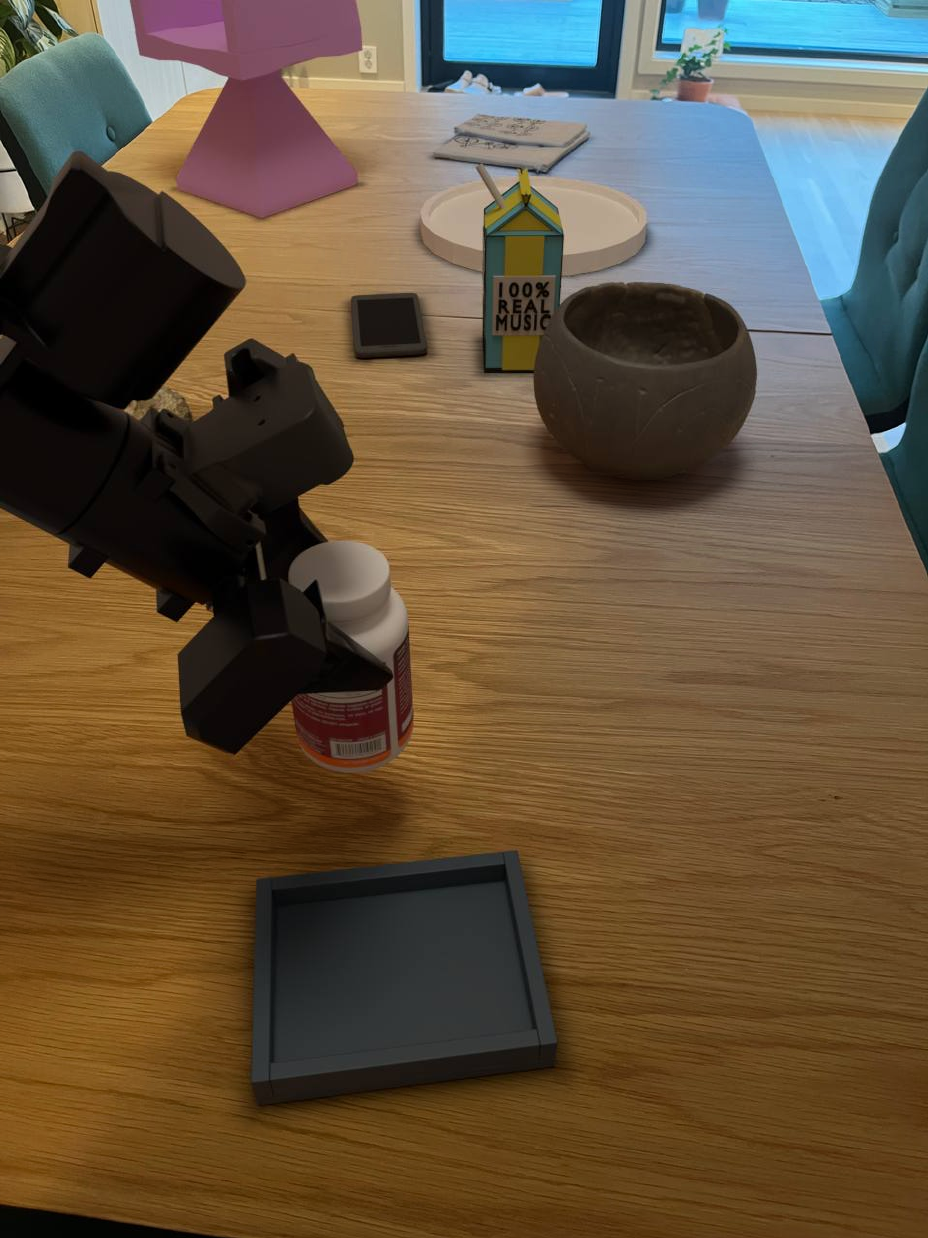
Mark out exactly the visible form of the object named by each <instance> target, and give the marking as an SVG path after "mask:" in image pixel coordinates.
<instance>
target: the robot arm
mask: <svg viewBox="0 0 928 1238" xmlns="http://www.w3.org/2000/svg"><path fill="white" fill-rule="evenodd" d="M246 284H247V279H246V276H245V274H244V272H243V269H242V268H241V266H240V265H239V263H238V262H237V260H236V259H235V258H234V257H233V254H232V253H231V252H230V251H229V250H228V249H227V247H225V245H224V244H223V243H222V242H221V241H220V240H219V239H218V238H217V237H216V236H215V235H214V233H213V232H212V231H211V230H210V229H209V228H208V227H206V225H205V224H203V223H202V222H201V221H200V220H199V219H198V217H196V216H195V215H194V214H192V212H190V211H189V210H188V209H186V208H185V207H184V206H183V205H182V204H181V203H179V202H178V201H177V200H175V199H174V198H173V197H172V196H171V195H169V194H168V193H167V192H166V191H163V190H161V191H160V192H159V193H157V192H156V191H154V190H153V189H151V188H150V187H148V186H147V185H145V184H144V183H142V182H140V181H139V180H136V179H135V178H132V177H131V176H128V175H126V174H123V173H121V172H118V171H111V170H109V171H108V170H107V169H105V168H104V167H103V166H102V165H101V164H100V163H98V162H97V161H96V160H94V159H93V158H91V156H89V155H87V154H86V153H85V152H84V151H81V150H80V151H79V150H77V151H73V152H72V153H70V155H69V156H68V158H67V159H66V161H65V162H64V163H63V165H62V167H60V169H59V171H58V172H57V173H56V175H55V177H54V178H53V181H52V184H51V186H50V189H49V191H48V195H47V197H46V200H45V201H44V203H43V204H42V206H41V207H40V209H39V210H38V211H37V213H36V214H35V216H34V217H33V218H32V220H31V221H30V223H29V224H28V226H27V227H26V228H25V230H24V231H23V232H22V234H21V235H20V236H19V238H18V239H17V241H16V242H15V243H14V245H13V247H12V246H10V245H8V244H4V243H0V509H1V510H3V511H5V512H7V513H9V514H11V515H12V516H14V517H17V518H18V519H20V520H22V521H24V522H26V523H28V524H30V525H32V526H34V527H35V528H37V529H39V530H42V531H43V532H45V533H47V534H49V535H51V536H54V537H55V538H56V539H59V540H61V541H62V542H64V543H66V544H68V559H67V569H70V570H72V571H74V572H76V573H78V574H80V575H81V576H83V577H86V578H88V579H92V578H93V577H94V576H95V574H96V573H97V572H98V571H99V570H100V568H101V567H102V566H103V565H104V564H106V565H108V566H111V567H112V568H114V569H116V570H117V571H119V572H122V573H124V574H126V575H128V576H129V577H131V578H134V579H136V580H137V581H140V582H141V583H143V584H145V585H147V586H149V587H150V588H152V589H155V597H156V598H155V600H156V601H155V603H156V614H159V615H161V616H163V617H165V618H167V619H169V620H171V621H173V622H175V623H178V622H179V621H180V620H181V619H182V618H183V616H185V615H186V613H187V612H188V611H190V609H192V607H193V606H194V605H195V604H199V605H201V606H204V605H205V610H206V611H208V612H209V613H212V614H213V616H212V617H211V618H210V619H209V620H208V621H207V622H206V624H204V625H203V626H202V627H201V629H200V630H198V632H197V633H196V634H195V635H194V636H193V637H192V638H191V639H190V640H189V641H188V642H187V644H186V645H184V647H183V648H182V649H180V651H179V652H177V670H178V688H179V689H178V690H179V710H180V716H181V720H182V724H183V728H184V732H185V736H186V737H187V738H189V739H192V740H195V741H196V742H199V743H201V744H204V745H206V746H208V747H211V748H213V749H215V750H217V751H220V752H222V753H225V754H229V755H234V756H235V755H237V754H239V752H240V751H241V750H242V749H243V748H245V746H246V745H247V744H248V743H250V742H251V740H252V739H254V738H255V736H256V735H258V733H260V732H261V731H262V730H263V729H264V728H265V727H266V726H267V725H268V724H269V723H270V722H271V721H272V720H273V719H274V718H276V716H278V714H279V713H281V712H282V710H283V709H285V708H286V706H287V705H288V704H289V703H290V702H291V700H292V699H293V698H294V697H296V696H297V695H298V694H313V693H335V692H358V691H378V690H381V689H382V688H384V687H385V686H386V685H387V684H388V683H389V682H390V681H391V680H392V679H393V673H392V670H391V669H390V668H388V667H387V666H386V665H385V664H384V663H383V662H382V661H380V660H379V659H378V658H377V657H376V656H374V655H373V654H372V653H371V652H369V651H368V650H367V649H365V648H364V647H362V646H361V645H360V644H358V643H357V642H356V641H354V640H353V639H352V638H350V637H349V636H348V635H346V634H345V633H344V632H342V631H341V630H340V629H338V628H337V627H336V626H334V625H333V624H332V623H330V622H329V621H328V620H327V617H326V612H325V608H324V604H323V599H322V595H321V590H320V586H319V582H318V581H317V580H316V579H315V580H314V581H313V582H312V583H311V584H310V585H309V586H308V587H307V588H306V589H305V590H304V591H303V592H302V591H301V590H300V589H298V588H296V587H294V586H293V585H291V584H289V578H288V573H289V569H290V566H291V564H292V562H293V561H294V560H295V558H296V557H297V556H298V555H300V554H301V553H302V552H304V551H305V550H307V549H309V548H311V547H313V546H316V545H318V544H322V543H326V542H330V541H329V539H327V537H326V536H325V535H324V534H323V533H322V532H321V530H319V528H318V527H317V526H316V524H315V523H314V522H313V521H312V520H311V519H310V518H309V516H308V515H307V514H306V513H305V511H304V510H303V509H302V507H300V499H299V497H300V496H302V495H304V494H306V493H308V492H309V491H311V490H313V489H315V488H317V487H319V486H329V485H332V484H333V483H335V482H337V481H339V480H340V479H342V478H343V477H344V476H345V475H346V474H347V473H348V472H349V471H350V470H351V468H352V467H353V465H354V462H355V456H354V453H353V450H352V448H351V446H350V443H349V441H348V437H347V434H346V431H345V424H344V421H343V420H342V418H341V417H340V415H339V414H338V412H337V410H336V409H335V407H334V405H333V404H332V402H331V401H330V399H329V398H328V396H327V395H326V393H325V392H324V390H323V389H322V387H321V385H320V384H319V382H318V380H317V378H316V375H315V370H314V368H313V366H311V365H310V364H307V363H306V362H303V361H300V360H299V359H298V357H297V356H296V354H295V353H294V352H292V353H291V354H288V355H287V356H284V355H282V354H281V353H279V352H277V351H276V350H274V349H272V348H270V347H268V346H267V345H265V344H263V343H261V342H260V341H258V340H257V339H255V338H252V337H251V338H248V339H246V340H244V341H242V342H241V343H239V344H238V345H236V346H233V347H232V348H230V349H229V350H228V349H227V351H225V352H224V354H223V358H224V360H223V361H224V368H225V376H226V385H227V391H228V397H226V398H225V399H224V398H223V396H222V395H221V394H217V395H215V396H214V397H212V398H211V400H212V401H211V402H212V409H211V410H210V411H209V412H207V413H205V414H203V415H202V416H200V417H198V418H197V419H195V420H194V422H193V423H190V422H188V421H185V420H183V419H181V418H180V417H178V416H177V415H175V414H174V413H172V412H171V411H169V410H167V409H162V410H161V411H160V412H159V411H157V410H156V409H154V408H152V407H150V409H149V410H148V411H147V412H146V413H145V415H144V416H143V417H142V418H141V419H140V420H138V419H136V418H135V417H133V416H132V415H130V414H129V413H127V412H125V411H124V410H125V409H126V408H127V406H128V405H129V404H130V403H131V402H132V400H135V401H147V400H149V399H151V398H153V397H154V396H155V395H156V393H157V392H158V391H159V390H160V389H161V387H162V386H163V387H164V385H165V384H166V383H167V382H168V380H169V379H170V378H171V377H172V376H173V374H174V373H175V372H176V371H177V369H179V367H180V366H181V365H182V363H183V362H184V361H185V360H186V359H187V357H188V356H189V355H190V354H191V352H193V350H194V349H195V348H196V347H197V345H198V344H199V343H200V342H201V340H202V339H203V338H204V337H205V336H206V334H207V333H208V332H209V331H210V330H211V329H212V327H213V326H214V325H215V324H216V323H217V321H218V320H219V319H220V318H221V317H222V316H223V314H224V313H225V311H227V309H228V308H229V307H230V306H231V304H232V303H233V302H234V301H235V299H236V298H238V296H239V295H240V294H241V292H242V291H243V290H244V289H245V287H246Z"/></svg>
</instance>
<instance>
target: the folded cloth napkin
mask: <svg viewBox="0 0 928 1238" xmlns="http://www.w3.org/2000/svg"><path fill="white" fill-rule="evenodd" d="M587 127H588V126H587V123H578V122H569V121H561V120H546V119H545V120H544V119H534V118H525V117H517V116H515V117H512V116H496V115H487V114H483V113H482V114H480V113H479V114H476V115H475V116H473V117H472V118H469V119H468V120H466V121H464V122H462V123H460V124H458V125H456V126H454V127H453V134H454V136H452V137H451V138H449V141H448V142H447V143H446V144H444V145H443V146H442V147H439V148H437V149H435V150H434V151H433V156H434V158H445V159H446V158H447V159H451V160H455V161H462V162H471V163H477V164H481V163H482V164H487V165H496V166H503V167H513V168H518V169H521V170H522V171H523V170H525V169H526V168H527V171H529V170H535V171H536V173H539V172H543V173H547V172H548V170H549V169H550V168H551V167H552V166H553V165H554V164H555V163H556V162H557V161H559V160H561V158H563V157H564V156H565V155H566V154H569V152H571V151H573V150H574V149H576V147H577V146H579V145H580V144H581V143H582V142H584V141H586V140H588V138H589V136H590V135H591V131H588V130H586V129H587Z"/></svg>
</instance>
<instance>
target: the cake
mask: <svg viewBox="0 0 928 1238" xmlns="http://www.w3.org/2000/svg"><path fill="white" fill-rule="evenodd" d="M150 407H152V408H154V409H156V410H157V411H159V412H160V411H161V410H162V409H167V410H169V411H171V412H172V413H174V414H175V415H177V416H178V417H180V418H181V419H183V420H185V421H188V422H190V423H193V422H194V421H195V420H194V418H193V417H194V415H193V413H192V412H191V410H190V406H189V403H187V401H186V398H185V397H184V396H183V395H182V394H180V393H179V392H178V391H175V390H174V391H173V390H172V388H171V387H166V386H164V385H163V386H162V387H161V389H160V390H159V391H158V392H157V393H156V395H155V396H154V397H153V398H151V399H149V400H147V401H135V400H132V402H131V403H130V404H129V405H128V406H127V408H126V409H125V410H124V411H125V412H127V413H129V414H130V415H132V416H133V417H135V418H136V419H138V420H140V419H141V418H142V417H143V416H144V415H145V413H146V412H147V411H148V410H149V409H150Z"/></svg>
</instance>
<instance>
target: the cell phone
mask: <svg viewBox="0 0 928 1238" xmlns="http://www.w3.org/2000/svg"><path fill="white" fill-rule="evenodd" d="M350 310H351V311H350V312H351V325H352V339H353V340H352V341H353V350H354V351H353V352H354V356H355V357H357V358H360V359H361V358H363V359H365V358H366V359H367V358H383V357H387V358H388V357H403V356H405V357H406V356H420V355H424V354H426V353H428V342H427V336H426V332H425V331H426V330H425V327H424V326H425V325H424V320H423V315H422V311H421V304H420V299H419V296H418V293H416V292H393V293H392V292H391V293H375V294H373V293H372V294H357V295H352V296H351V298H350Z"/></svg>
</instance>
